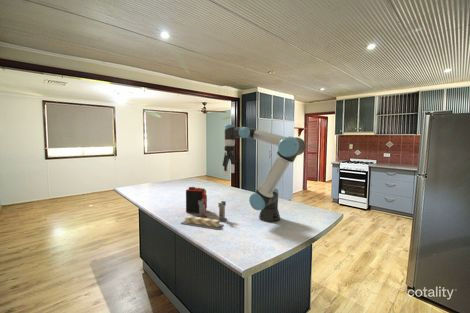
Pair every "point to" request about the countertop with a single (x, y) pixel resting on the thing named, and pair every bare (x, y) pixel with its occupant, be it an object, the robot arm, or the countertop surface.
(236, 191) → the countertop surface
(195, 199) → the red coffee machine
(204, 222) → the rail
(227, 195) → the countertop surface
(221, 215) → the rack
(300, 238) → the countertop surface
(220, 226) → the mat
